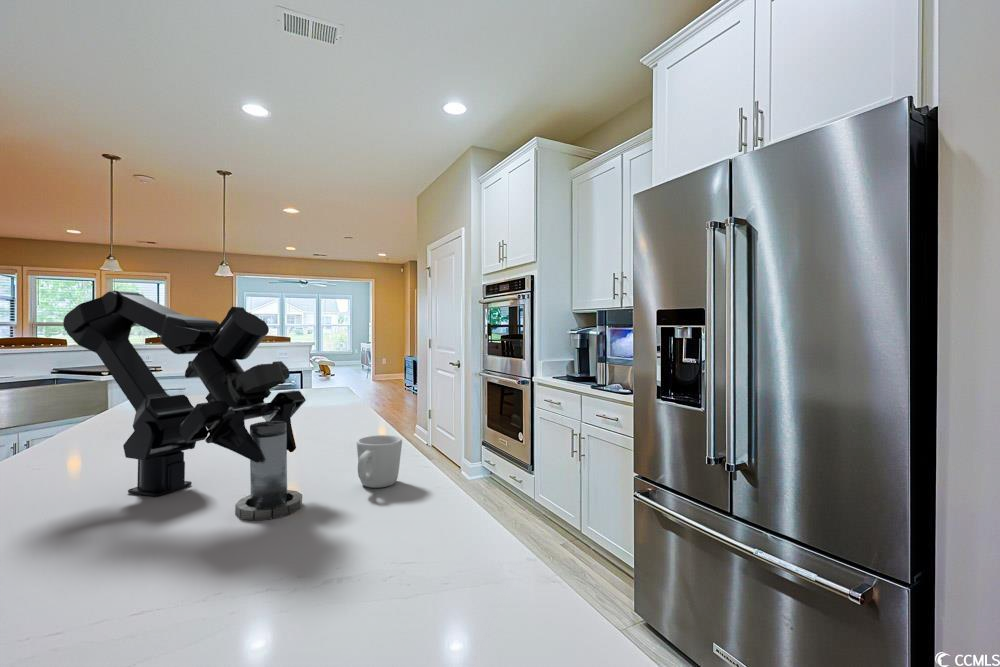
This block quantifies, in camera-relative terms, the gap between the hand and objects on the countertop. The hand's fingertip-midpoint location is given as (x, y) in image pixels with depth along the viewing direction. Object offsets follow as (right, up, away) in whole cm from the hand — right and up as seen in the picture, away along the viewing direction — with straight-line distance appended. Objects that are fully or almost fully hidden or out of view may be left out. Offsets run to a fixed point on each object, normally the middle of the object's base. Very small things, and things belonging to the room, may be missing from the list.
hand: (277, 455), depth 69 cm
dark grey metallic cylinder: (-2, -8, 0) cm, 8 cm away
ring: (-1, -8, 0) cm, 8 cm away
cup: (+12, -9, +11) cm, 19 cm away
